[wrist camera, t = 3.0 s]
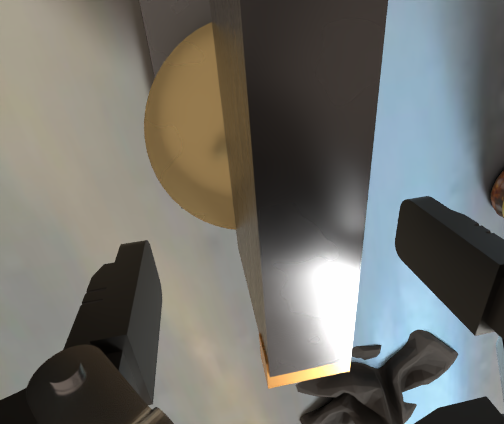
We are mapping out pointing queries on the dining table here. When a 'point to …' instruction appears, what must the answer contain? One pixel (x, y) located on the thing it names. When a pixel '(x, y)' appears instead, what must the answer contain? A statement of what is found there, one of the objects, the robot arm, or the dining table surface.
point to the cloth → (379, 383)
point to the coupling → (279, 160)
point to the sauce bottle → (498, 195)
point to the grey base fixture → (171, 25)
